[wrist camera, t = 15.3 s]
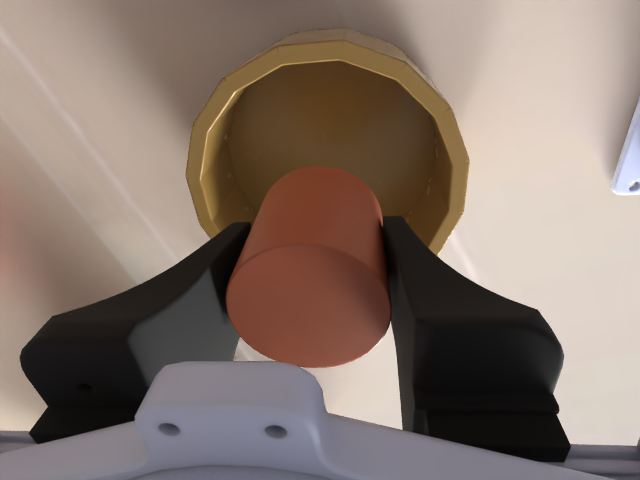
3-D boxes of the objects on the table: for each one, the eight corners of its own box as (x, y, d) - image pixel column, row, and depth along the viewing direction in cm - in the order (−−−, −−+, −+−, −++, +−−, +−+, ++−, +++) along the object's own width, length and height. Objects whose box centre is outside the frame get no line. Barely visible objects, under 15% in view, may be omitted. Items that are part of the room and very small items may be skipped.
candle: (381, 161, 14) (392, 240, 9) (382, 268, 16) (391, 369, 12) (251, 168, 14) (207, 246, 10) (271, 271, 17) (242, 368, 12)
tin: (456, 16, 18) (486, 26, 14) (437, 244, 25) (454, 298, 20) (194, 41, 19) (149, 57, 15) (243, 250, 26) (221, 301, 22)
